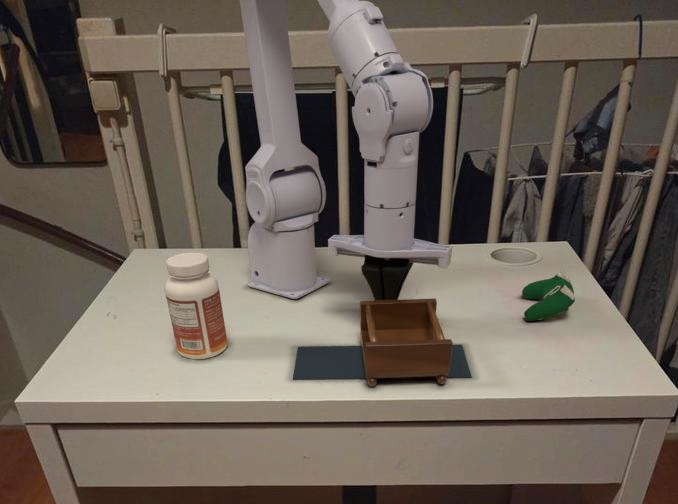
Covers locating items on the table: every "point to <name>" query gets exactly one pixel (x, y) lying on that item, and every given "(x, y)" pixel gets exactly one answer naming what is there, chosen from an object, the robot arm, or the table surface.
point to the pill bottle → (195, 306)
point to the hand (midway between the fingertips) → (386, 317)
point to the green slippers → (549, 297)
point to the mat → (356, 363)
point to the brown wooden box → (403, 340)
